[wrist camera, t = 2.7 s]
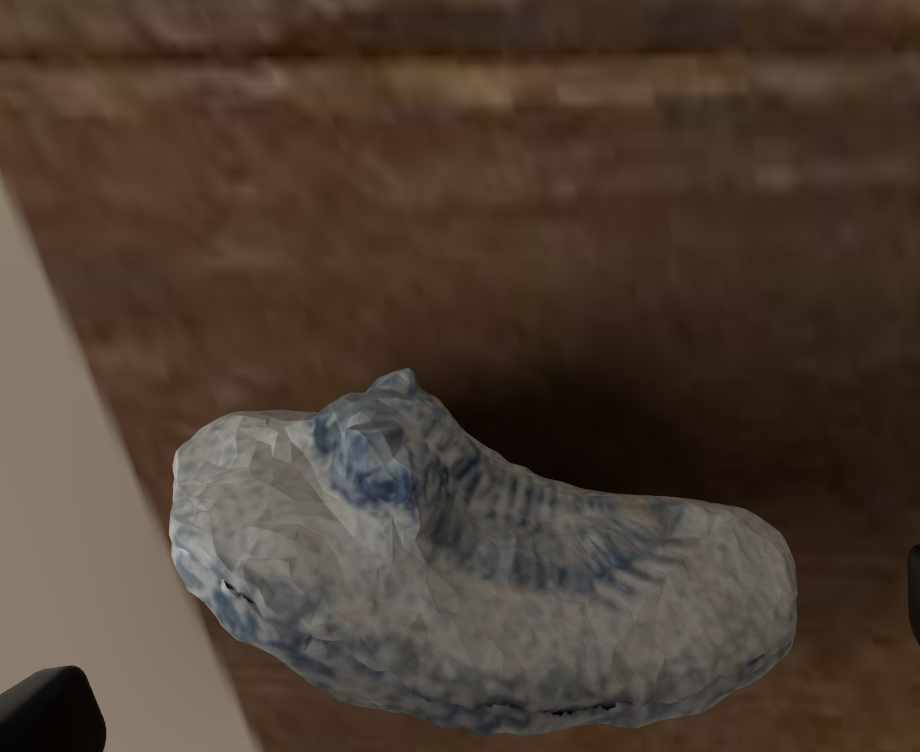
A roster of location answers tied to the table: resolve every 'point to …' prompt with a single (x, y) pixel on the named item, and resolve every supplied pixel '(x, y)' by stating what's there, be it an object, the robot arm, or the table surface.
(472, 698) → the fossil
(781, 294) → the table surface
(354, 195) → the table surface
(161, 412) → the table surface
